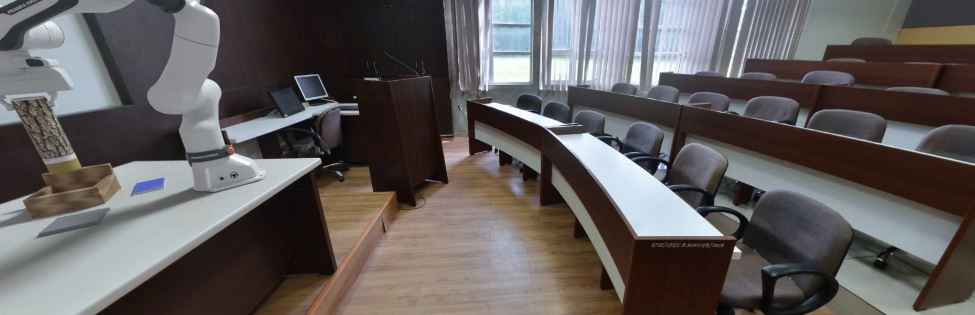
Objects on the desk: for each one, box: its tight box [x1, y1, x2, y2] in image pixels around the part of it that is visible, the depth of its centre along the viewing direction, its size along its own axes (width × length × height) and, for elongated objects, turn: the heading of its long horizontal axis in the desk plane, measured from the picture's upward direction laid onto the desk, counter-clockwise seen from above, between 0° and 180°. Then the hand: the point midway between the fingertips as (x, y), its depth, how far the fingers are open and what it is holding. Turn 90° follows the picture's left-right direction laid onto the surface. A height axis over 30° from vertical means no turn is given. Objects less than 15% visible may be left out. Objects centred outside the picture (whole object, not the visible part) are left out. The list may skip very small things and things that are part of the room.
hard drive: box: [132, 177, 166, 196], centre depth 122 cm, size 2×8×12 cm
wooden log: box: [9, 95, 82, 175], centre depth 104 cm, size 7×7×25 cm
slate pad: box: [38, 206, 111, 237], centre depth 98 cm, size 11×11×1 cm
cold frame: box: [22, 162, 122, 219], centre depth 110 cm, size 16×16×10 cm
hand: (33, 108), depth 101 cm, fingers closed on wooden log, 7 cm apart
